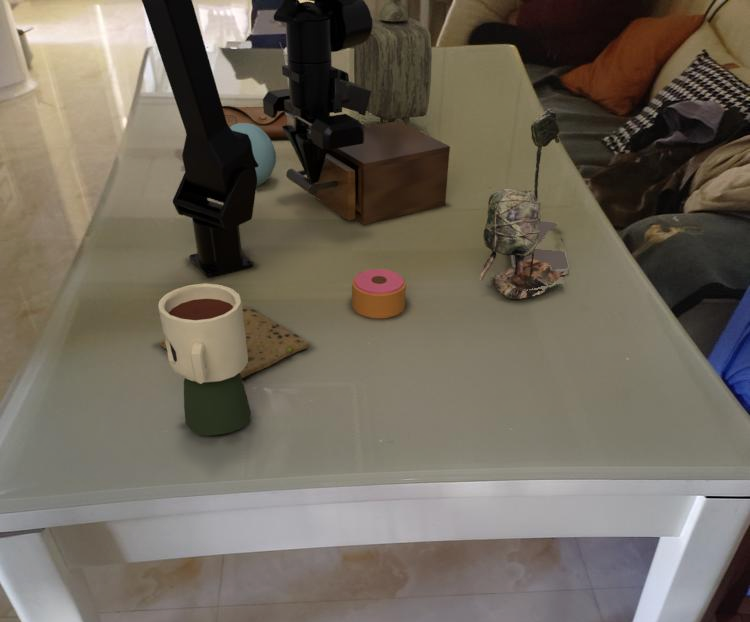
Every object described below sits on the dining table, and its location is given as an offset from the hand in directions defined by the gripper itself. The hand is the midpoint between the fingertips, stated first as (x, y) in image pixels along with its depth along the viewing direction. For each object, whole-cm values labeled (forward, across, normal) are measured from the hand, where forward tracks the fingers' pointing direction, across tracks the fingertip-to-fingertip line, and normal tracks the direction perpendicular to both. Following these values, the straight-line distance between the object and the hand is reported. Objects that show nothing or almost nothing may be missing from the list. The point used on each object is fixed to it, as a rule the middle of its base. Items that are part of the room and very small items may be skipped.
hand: (314, 181), depth 108 cm
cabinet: (+5, 0, -12) cm, 13 cm away
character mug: (+5, -40, +32) cm, 52 cm away
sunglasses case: (+5, +37, -10) cm, 39 cm away
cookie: (+5, -28, +25) cm, 38 cm away
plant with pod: (+5, -33, -12) cm, 35 cm away
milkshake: (+5, +56, -26) cm, 62 cm away
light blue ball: (+5, +17, +4) cm, 18 cm away
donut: (+5, -28, +6) cm, 29 cm away
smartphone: (+5, -26, -20) cm, 33 cm away
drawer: (+4, 0, -6) cm, 8 cm away
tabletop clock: (+5, +26, -30) cm, 40 cm away
